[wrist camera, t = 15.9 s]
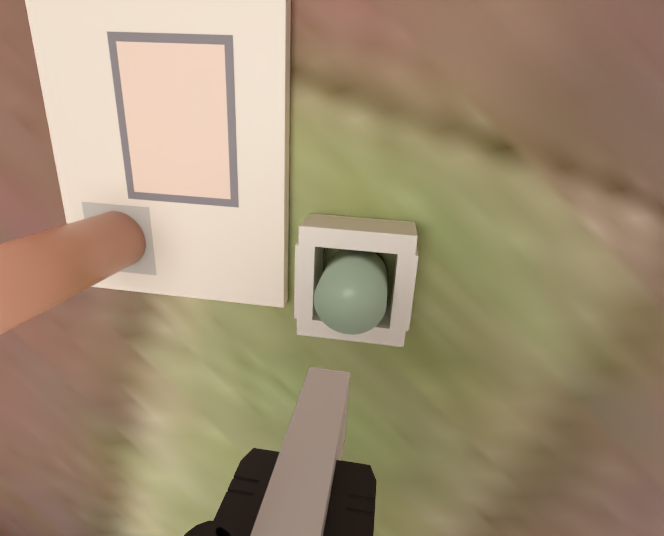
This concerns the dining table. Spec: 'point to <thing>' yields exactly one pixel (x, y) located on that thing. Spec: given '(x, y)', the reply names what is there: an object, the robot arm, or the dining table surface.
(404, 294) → the button housing
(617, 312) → the dining table surface
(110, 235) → the marker
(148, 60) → the board
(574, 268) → the dining table surface
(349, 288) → the button
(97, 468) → the dining table surface
